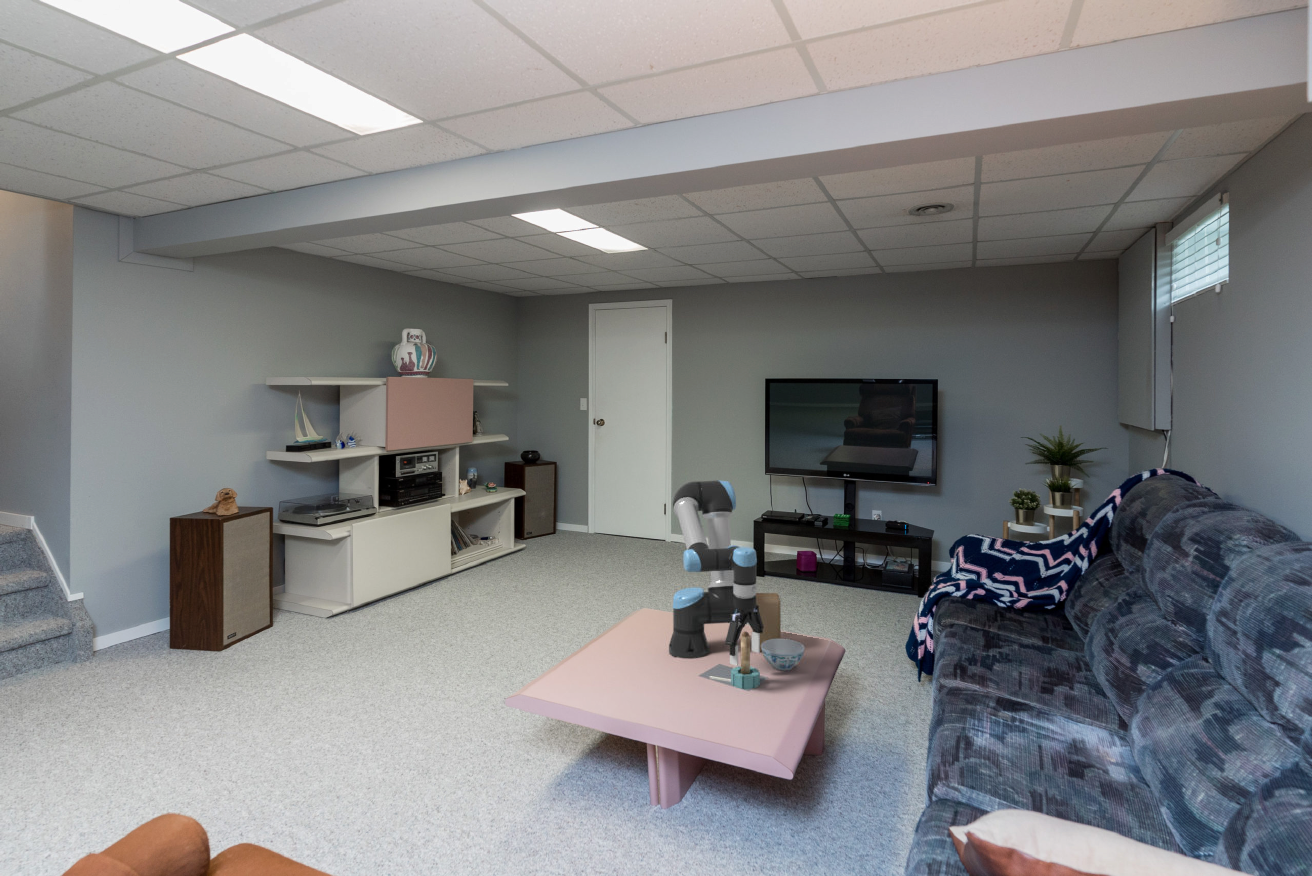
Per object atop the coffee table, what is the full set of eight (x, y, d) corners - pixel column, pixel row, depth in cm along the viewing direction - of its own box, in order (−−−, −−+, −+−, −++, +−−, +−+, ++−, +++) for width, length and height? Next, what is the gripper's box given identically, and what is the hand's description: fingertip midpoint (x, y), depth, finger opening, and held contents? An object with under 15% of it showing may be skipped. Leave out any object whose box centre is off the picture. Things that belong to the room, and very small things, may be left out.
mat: (698, 676, 234) (698, 675, 234) (719, 664, 244) (719, 663, 244) (748, 692, 221) (748, 690, 221) (768, 678, 231) (768, 677, 231)
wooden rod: (739, 683, 227) (739, 631, 226) (743, 680, 230) (744, 629, 229) (746, 685, 225) (747, 633, 224) (751, 682, 228) (751, 631, 227)
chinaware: (802, 678, 232) (802, 656, 231) (758, 673, 236) (758, 651, 236) (806, 661, 246) (806, 640, 246) (764, 657, 250) (764, 636, 250)
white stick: (709, 678, 232) (709, 676, 232) (710, 677, 232) (710, 675, 232) (732, 681, 228) (732, 680, 228) (732, 681, 229) (732, 679, 229)
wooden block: (778, 643, 264) (778, 592, 263) (780, 653, 254) (780, 600, 253) (752, 642, 265) (752, 591, 264) (753, 652, 255) (753, 599, 254)
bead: (726, 684, 227) (726, 672, 226) (741, 675, 234) (740, 663, 233) (750, 691, 221) (749, 679, 221) (764, 682, 228) (764, 670, 228)
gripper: (734, 607, 213) (734, 673, 215) (773, 588, 233) (773, 649, 234) (714, 602, 218) (714, 667, 220) (754, 584, 238) (754, 644, 239)
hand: (745, 657), depth 227 cm, fingers open, 13 cm apart
